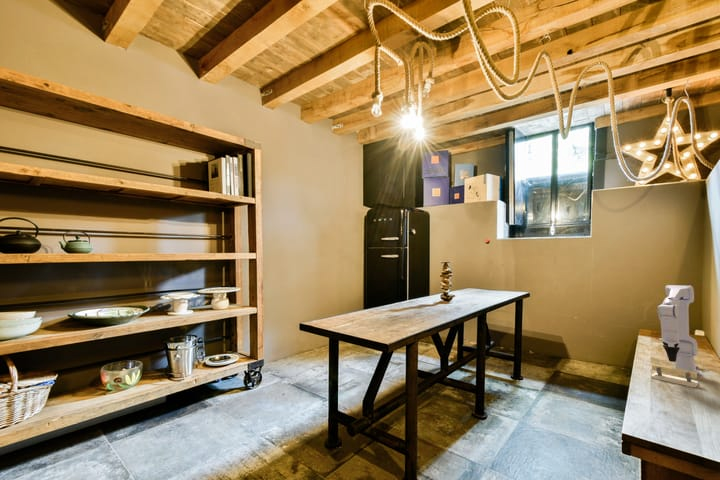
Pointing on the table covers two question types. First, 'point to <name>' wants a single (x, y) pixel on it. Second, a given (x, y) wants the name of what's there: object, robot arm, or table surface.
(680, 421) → the table surface
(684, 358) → the robot arm
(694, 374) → the wooden bar
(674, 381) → the hook stand
